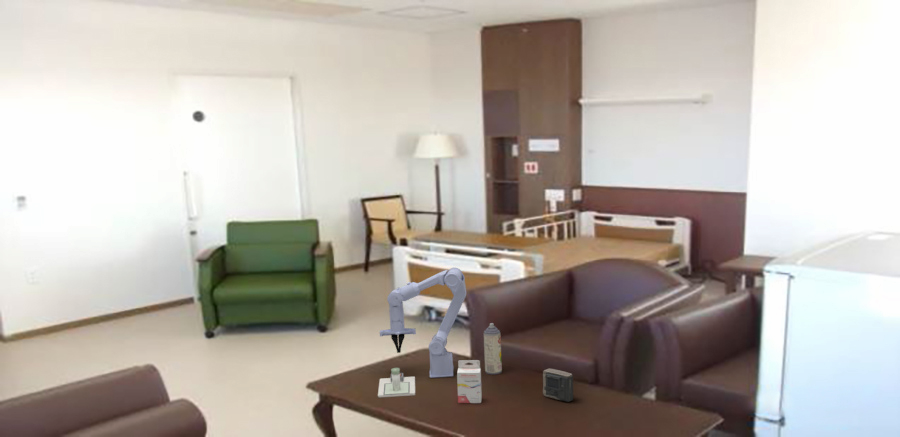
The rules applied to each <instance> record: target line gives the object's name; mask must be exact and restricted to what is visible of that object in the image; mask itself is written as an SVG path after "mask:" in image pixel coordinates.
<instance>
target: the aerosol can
mask: <svg viewBox="0 0 900 437" xmlns="http://www.w3.org/2000/svg"><path fill="white" fill-rule="evenodd" d="M501 338H502V337H501V330H500V329H498V328H497V327H496V325H494V323H493V322H491V323H489V326H488V327H486V329H484V331H483V348H484V349H483V350H484V351H483V352H484V372H485V374H487V375H499V374H502V372H503V366H502V365H503V363H502V339H501Z"/></svg>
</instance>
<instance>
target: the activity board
mask: <svg viewBox="0 0 900 437" xmlns="http://www.w3.org/2000/svg"><path fill="white" fill-rule="evenodd" d="M400 374H401V377H400V387H401V389H400V390H398V391H394V390H393V385H392V373H390V377H388V378H387V377H386V378H385V377H384V378H379V383H378V392H377V398H391V397H394V398H395V397H407V396H409V397H410V396H416V377H415V376H404V372H400Z"/></svg>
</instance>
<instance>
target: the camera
mask: <svg viewBox="0 0 900 437" xmlns="http://www.w3.org/2000/svg"><path fill="white" fill-rule="evenodd" d="M542 383H543V384H542V385H543V386H542V387H543V388H542V394H543V396H544V397H546V398H551V399H554V400H559V401H562V402H567V403H569V402H572V401H574V376H573V374H572V373H570V372H567V371H563V370H559V369H555V368H547V369H544V370H543V371H542Z"/></svg>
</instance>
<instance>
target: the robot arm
mask: <svg viewBox="0 0 900 437" xmlns="http://www.w3.org/2000/svg"><path fill="white" fill-rule="evenodd" d="M436 285H440V286H445V285H446V287H447V288H448V289H450V291H451V293H452V295H453V296H452V299H451V301H450V304H449V306H448V308H447V310H446V313H445V315H444V317H443V319H442V321H441V324H440V325H439V328H438V331H437V333H436V334H434V335H433V336H432V338H431V341H430V342H429V344H428V351H429V367H430V368H429V371H428V372H429V378H433V379H434V378H447V377H454V370H455V369H454V367H455V366H454V363H453V362H454V360H453V352H451V351H448V350H447V348H446V346H447V345H448V336H449V334H450V332H451V329H452V327H453V325H454V324H455V320H456V319H457V316H458V314H459V312H460V310H461V307H462V305H463V304H464V301H465V299H466V298H467V297H466V296H467V287H466V280H465V275H464V274H463V271H462V270H461V269H460V268H458V267H451V268H449V269H446V270H442V271H440V272H438V273H436V274H434V275H432V276H430V277H428V278H425V279H424V280H422V281H420V282H414V281H412V282H411V281H408V282H407V283H406V285H404V286H401V287H397V288H396V289H393V290H392V291H391V292H390V293H389V294H388V295H387V298H386V300H387V303H388V307H389V309H388V310H389V312H388V313H389V328H390V329H381V330H379V337H383V336H385V337H386V336H390V339H391V340H392V342H393V344H394V345H395V348H396V349H395V350H396V353H397V354H399V353H401V352H402V345H403V341H404V340H405V335H416V334H417V333H416V328H414V327H413V328H409V327H405V313H404V312H405V311H404V302H407V301H409V300H411V299H413V298H416V297H418V296H419V295H420V294H421V291H423V290H426V289H428V288H430V287H433V286H436Z"/></svg>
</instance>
